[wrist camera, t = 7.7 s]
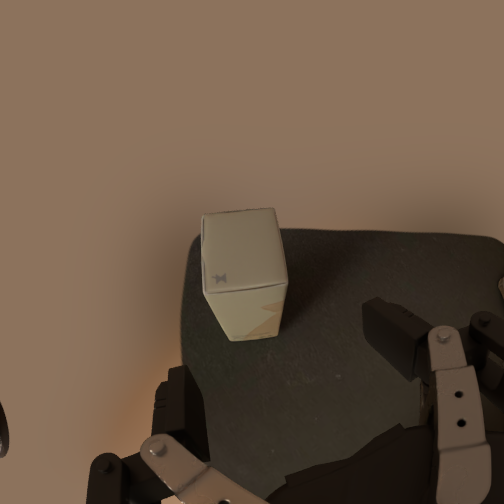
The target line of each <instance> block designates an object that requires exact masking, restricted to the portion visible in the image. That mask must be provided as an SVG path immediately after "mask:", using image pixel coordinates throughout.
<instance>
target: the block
mask: <svg viewBox="0 0 504 504" xmlns="http://www.w3.org/2000/svg"><path fill="white" fill-rule="evenodd" d="M498 287H499V290H500V292H501V294H502V297H503V299H504V277H503V278H501V279H500V281H499V284H498Z"/></svg>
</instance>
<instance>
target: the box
mask: <svg viewBox="0 0 504 504" xmlns="http://www.w3.org/2000/svg"><path fill="white" fill-rule="evenodd" d="M201 257H202V280H203V293H204V296H205V298H206V299H207V301H208V303H209V305H210V307H211V309H212V311H213V313H214V314H215V316H216V318H217V320H218V321H219V323H220V325H221V327H222V328H223V330H224V332H225V333H226V335H227V337H228V339H229V340H230V341H244V340H254V339H262V338H269V337H275V336H278V333H279V328H280V323H281V318H282V312H283V307H284V302H285V297H286V292H287V287H288V275H287V268H286V262H285V256H284V250H283V244H282V239H281V234H280V230H279V225H278V221H277V217H276V212H275V209H274V208H260V209H247V210H237V211H228V212H219V213H209V214H204V215H203V216H202V220H201Z"/></svg>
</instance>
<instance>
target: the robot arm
mask: <svg viewBox="0 0 504 504" xmlns="http://www.w3.org/2000/svg"><path fill="white" fill-rule="evenodd" d="M362 317H363V332H364V336H365V338H366V340H367V342H368V343H369V344H370V345H371V346H372V347H373V348H374V349H375V350H376V351H378V352H379V353H380V354H381V355H382V356H383V357H384V358H385V359H386V360H387V361H388V362H389V363H390V364H391V365H392V366H393V367H394V368H395V369H397V370H398V371H399V372H400V373H401V374H402V375H403V376H404V377H405V378H406V379H407V380H408V381H409V382H411V381H412V380H414V379H415V378H417V377H419V378H420V379H421V381H420V419H419V424H418V426H413V427H409V428H406V429H404V428H403V427H402V425H401V424H400V423H399V424H397V425H396V426H394V427H392V428H391V429H389V430H387V431H386V432H384V433H382V434H380V435H379V436H377V437H375V438H374V439H373V440H371V441H370V442H369V443H368V444H367V445H365V446H364V447H363V448H362V449H361V450H359V451H358V452H357V453H356V454H354V455H353V456H352V457H350V458H348V459H344V460H339V461H335V462H330V463H325V464H320V465H315V466H312V467H310V468H307V469H304V470H302V471H299V472H296V473H293V474H290V475H287V476H285V479H286V482H287V483H286V484H284V485H282V486H281V487H279V488H278V489H276V490H275V491H274V492H273V493H271V494H270V495H269V496H268V497H267V498H266V499H265V500H262V499H261V498H259V497H257V496H255V495H254V494H252V493H250V492H249V491H247V490H246V489H244V488H242V487H241V486H239V485H238V484H236V483H235V482H233V481H232V480H230V479H229V478H227V477H226V476H224V475H223V474H221V473H220V472H219V471H217V470H216V469H214V468H213V467H211V466H209V467H208V466H207V465H205V464H204V463H203V462H208V461H210V453H209V446H208V437H207V429H206V420H205V410H204V401H203V397H202V394H201V391H200V389H199V387H198V385H197V383H196V382H195V380H194V378H193V376H192V374H191V372H190V370H189V368H188V366H187V365H182V366H178V367H174V368H170V369H169V371H168V381H165V382H161V384H160V385H159V387H158V389H157V390H156V394H155V403H154V413H153V422H152V433H151V437H149V438H148V439H147V440H145V441H144V442H143V444H142V446H141V448H140V452H138V453H136V454H133V455H131V456H128V457H125V458H122V459H120V458H119V457H118V456H117V455H115V454H113V453H103V454H101V455H99V456H97V457H96V458H95V459H94V460H93V462H92V464H91V467H90V474H89V481H88V489H87V499H86V504H161V500H162V499H165V498H168V497H170V496H173V495H175V496H176V497H177V498H178V499H179V500H180V501H181V502H182V503H183V504H504V432H496V431H485V428H484V419H483V411H482V405H481V398H480V393H479V391H480V392H481V393H482V394H484V395H485V396H486V397H487V398H488V399H489V400H490V401H491V402H492V403H493V404H494V405H495V406H496V407H497V408H498V409H499V410H500V411H502V412H503V413H504V369H502V368H501V367H500V366H499V365H497V364H496V363H495V362H493V361H492V360H491V359H490V358H488V357H489V354H490V351H492V352H493V353H495V354H496V355H497V356H499V357H500V358H501V359H502V360H503V361H504V320H502V319H501V318H499V317H498V316H496V315H494V314H492V313H490V312H487V311H480V312H477V313H475V314H473V315H472V317H471V320H470V325H469V326H467V327H464V328H461V329H459V330H456V329H455V328H453V327H451V326H445V325H443V326H437V327H433V326H432V325H430V324H429V323H427V322H426V321H424V320H423V319H421V318H419V317H418V316H416V315H414V314H413V313H412V312H410V311H408V310H407V309H406V308H404V307H402V306H401V305H398V304H394V303H387V302H385V301H384V300H382V299H381V298H379V297H376V298H374V299H372V300H369V301H367V302H365V303H363V305H362Z"/></svg>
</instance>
